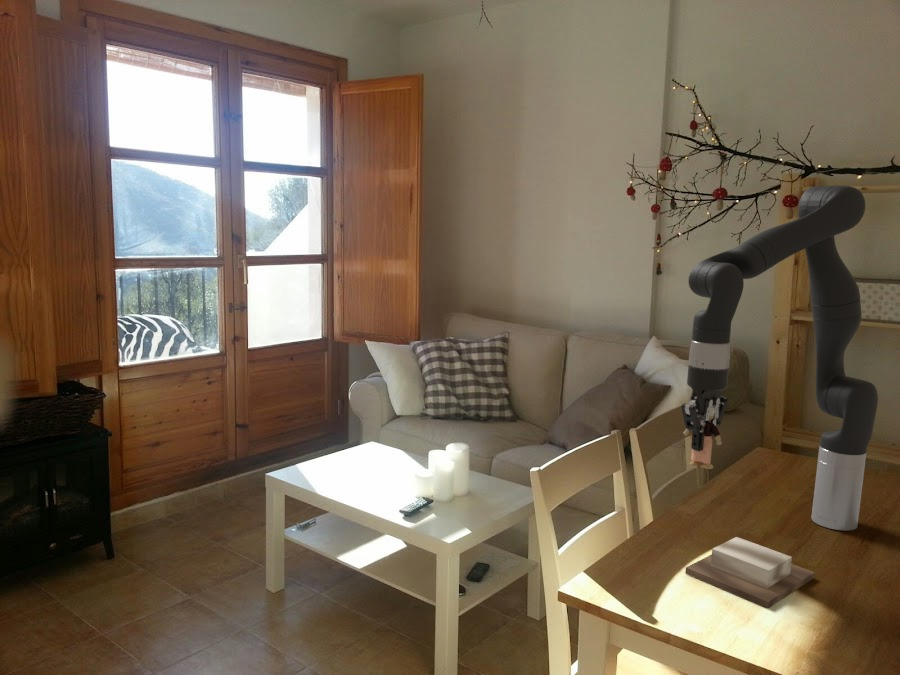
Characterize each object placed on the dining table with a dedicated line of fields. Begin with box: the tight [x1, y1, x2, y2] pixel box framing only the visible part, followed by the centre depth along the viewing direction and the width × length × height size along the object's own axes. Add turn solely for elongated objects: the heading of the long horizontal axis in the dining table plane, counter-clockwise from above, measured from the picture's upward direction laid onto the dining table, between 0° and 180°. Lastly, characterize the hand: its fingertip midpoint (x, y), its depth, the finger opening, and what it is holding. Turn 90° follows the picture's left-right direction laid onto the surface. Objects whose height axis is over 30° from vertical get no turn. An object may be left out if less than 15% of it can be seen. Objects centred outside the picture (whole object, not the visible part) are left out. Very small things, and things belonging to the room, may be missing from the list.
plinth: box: [684, 536, 815, 609], centre depth 139 cm, size 18×16×5 cm
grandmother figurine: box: [683, 406, 722, 470], centre depth 148 cm, size 8×4×13 cm, turn 60°
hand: (701, 448), depth 148 cm, fingers closed on grandmother figurine, 2 cm apart
